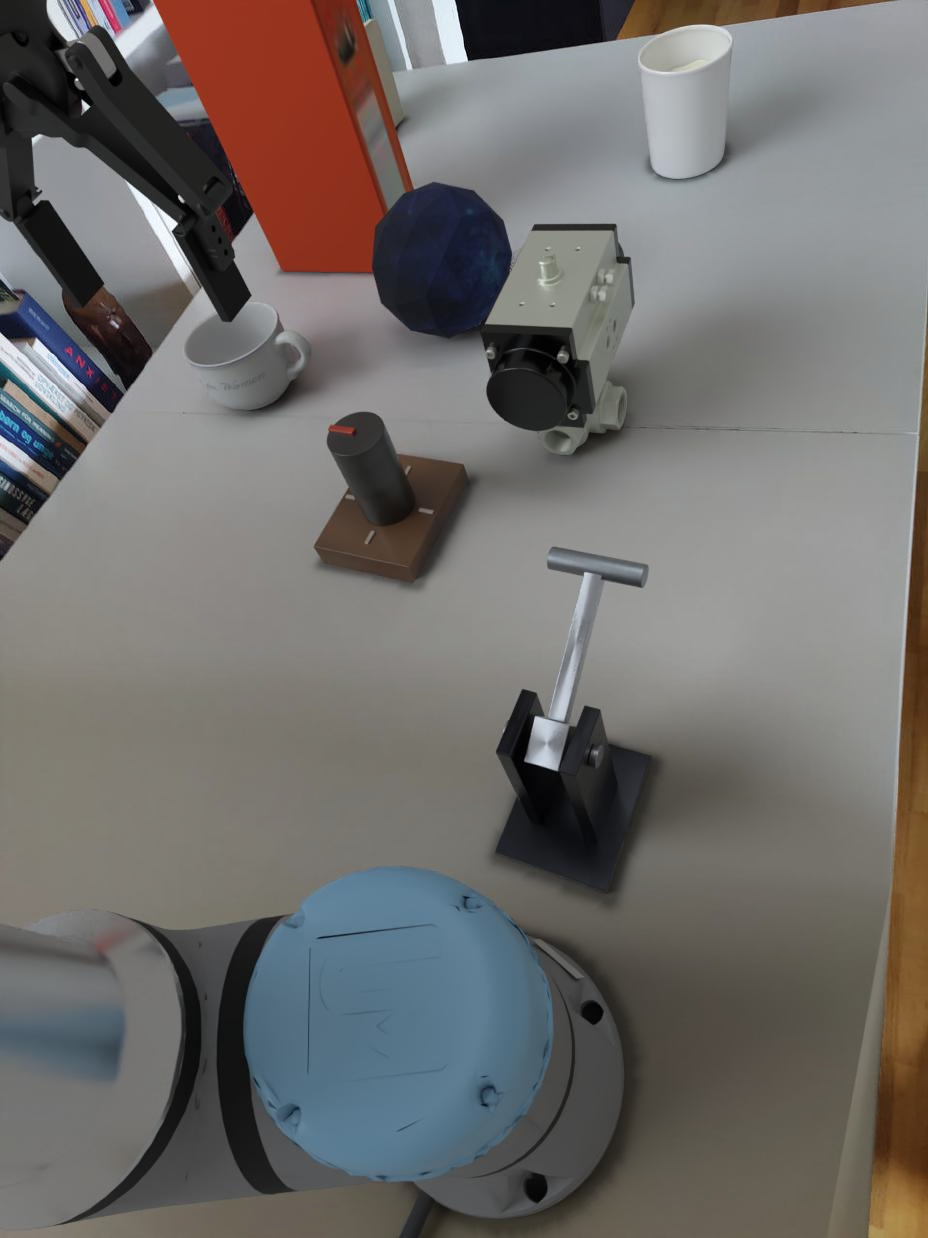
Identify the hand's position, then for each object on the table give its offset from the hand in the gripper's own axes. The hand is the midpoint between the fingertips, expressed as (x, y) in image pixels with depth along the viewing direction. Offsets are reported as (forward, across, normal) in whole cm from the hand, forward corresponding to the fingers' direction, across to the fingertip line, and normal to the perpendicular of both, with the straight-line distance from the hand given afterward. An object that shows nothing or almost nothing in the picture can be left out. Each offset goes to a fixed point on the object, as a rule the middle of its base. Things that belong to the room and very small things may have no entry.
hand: (160, 302), depth 59 cm
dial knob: (+24, -8, -4) cm, 26 cm away
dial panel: (+27, -8, -4) cm, 28 cm away
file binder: (+27, +17, -42) cm, 53 cm away
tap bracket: (+27, -33, +17) cm, 46 cm away
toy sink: (+27, +28, -68) cm, 78 cm away
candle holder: (+27, -19, -62) cm, 70 cm away
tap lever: (+15, -33, +12) cm, 38 cm away
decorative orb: (+27, -2, -32) cm, 42 cm away
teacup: (+27, +15, -18) cm, 36 cm away
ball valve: (+27, -21, -19) cm, 39 cm away
